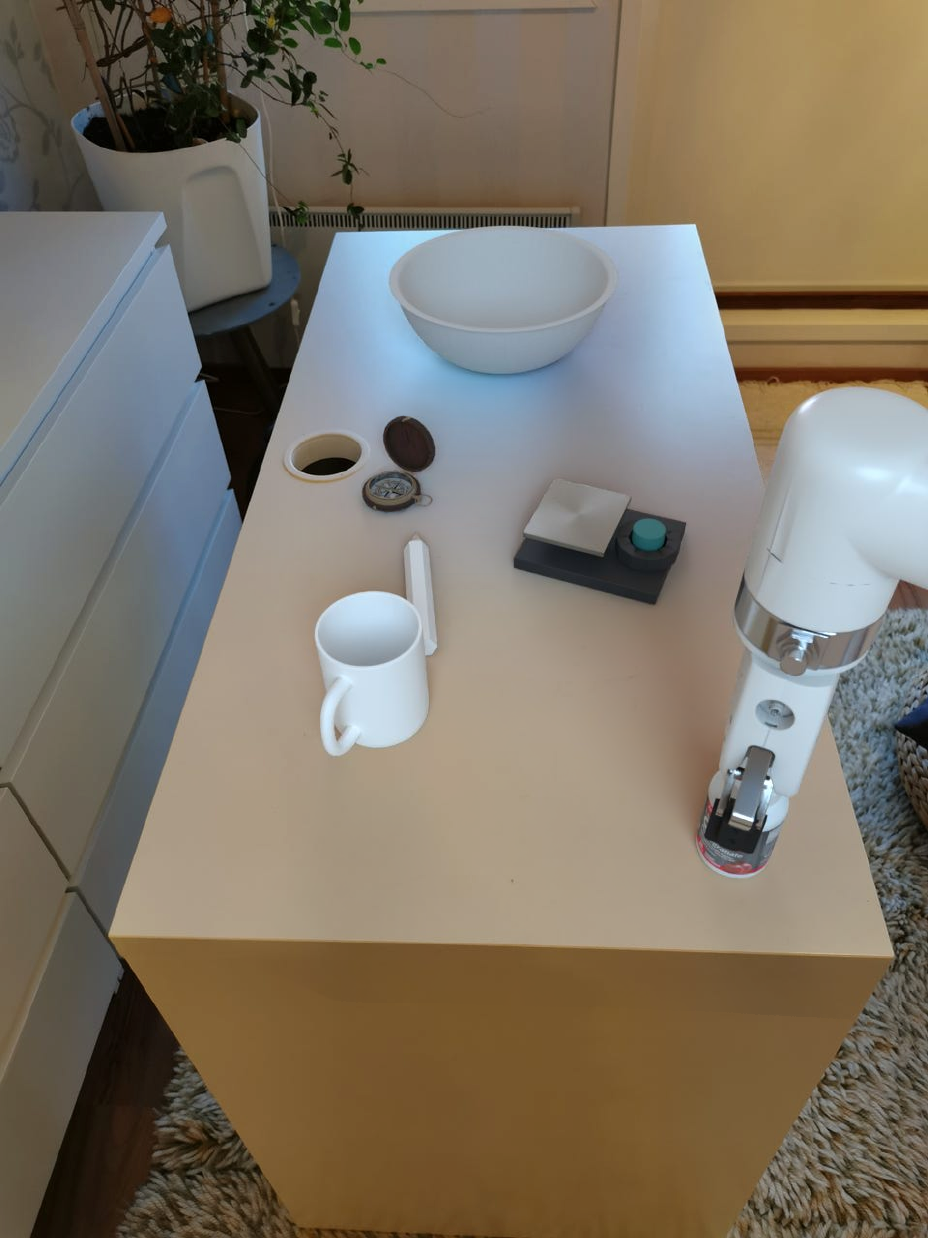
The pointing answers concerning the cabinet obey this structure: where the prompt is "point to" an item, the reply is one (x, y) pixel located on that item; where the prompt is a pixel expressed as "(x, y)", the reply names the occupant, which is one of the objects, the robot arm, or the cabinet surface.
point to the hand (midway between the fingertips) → (744, 784)
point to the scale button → (648, 534)
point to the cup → (371, 671)
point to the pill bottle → (737, 861)
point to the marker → (421, 588)
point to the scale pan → (578, 517)
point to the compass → (401, 466)
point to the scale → (609, 561)
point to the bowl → (503, 295)
